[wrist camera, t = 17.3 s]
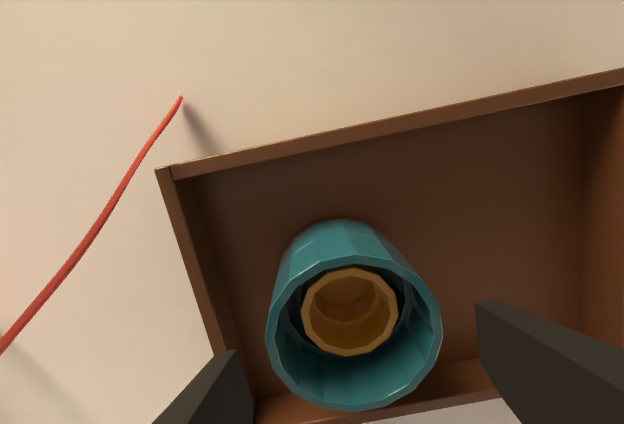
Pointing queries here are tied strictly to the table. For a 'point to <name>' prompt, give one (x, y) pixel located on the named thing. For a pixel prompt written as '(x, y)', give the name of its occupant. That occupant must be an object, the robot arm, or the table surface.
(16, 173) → the table surface
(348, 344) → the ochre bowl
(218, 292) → the tray
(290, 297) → the teal hollow cylinder
